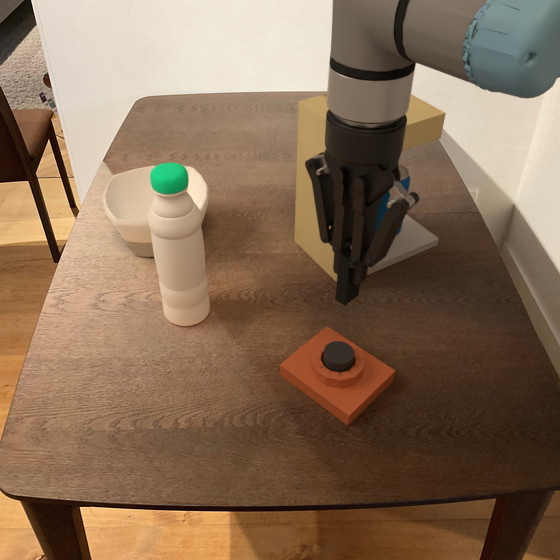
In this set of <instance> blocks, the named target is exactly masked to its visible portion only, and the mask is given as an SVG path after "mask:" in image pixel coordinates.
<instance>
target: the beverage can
mask: <svg viewBox="0 0 560 560" xmlns="http://www.w3.org/2000/svg"><path fill="white" fill-rule="evenodd" d="M398 165H399V170H400V173H401V179H400V181H399V182H400V183H401V184H402V186H403V187H404V188H405V190H406V191H407V192H408V193H409V189H410V185H411V176H410V171H409V168H407V167H406V166H404V165H403V164H401V163H398ZM389 198H390V193H389V192H387V193H386V194H385V195H384V196H383V197H382V202H381V203H380V205H379V207H378V215H377V222H376V230H375V234H376V232H377V229H378V227H379V225H380V222H381V220H382V218H383V216H384V214H385V213H386V211H387V210H388V209H389V208H387V203H388V200H389ZM402 223H403V222H402ZM401 228H402V224H401V226H400V228H399V230H398V232H397V234H396V235H398V234H399V233H400V232H401Z"/></svg>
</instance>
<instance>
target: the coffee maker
mask: <svg viewBox="0 0 560 560" xmlns="http://www.w3.org/2000/svg"><path fill="white" fill-rule="evenodd" d="M328 110H329V108H328V107H327V93H325V94H320V95H317V96H312V97H310V98H306V99H302V100H298V117H297V143H296V144H297V145H296V173H295V175H296V176H295V177H296V179H295V205H294V207H295V209H294V212H295V213H294V238H293V240H294V242H295V244H297V245H298V247H299V248H301V250H302V251H304V252H305V253H306V254H307V255H308V256H309V257H310V258H311V259H312V260H313V261H314V262H315V264H317V265H318V266H319V267H320V268H321V269H322V270H323V271H324V272H325V273H326V274H327V275H328V276H329V277H331V279H333V281H334V282H336V283H337V274H336V273H334V270H333V265H334V264H333V262H334V252H333V250H332V246H331V245H330V244H329V243H323V242H322V241H321V239H320V234H319V227H318V220H317V214H316V207H315V201H314V194H313V187H312V181H311V179H310V176H309V174H308V172H307V169H306V167H305V162H306V161H307V160H309V159H310V158H312V157H314V156H316V155H318V154H319V153H321V152H325V150H326V147H325V128H326V113H327V111H328ZM405 115H406V117H407V124H406V131H405V137H404V144H403V149H402V152H404V151H407V150H409V149H413V148H415V147H418V146H421V145H424V144H428V143H431V142H434V141H437V140H440V139H441V138H442V133H443V128H444V123H445V119H446V115H447V112H445V111H443V110H441V109H439V108H438V107H435V106H434V105H432V104H430V103H429V102H426V101H425V100H423V99H421V98H420V97H417V96H416V95H415V94H412V93H411V96H410V103H409V109H408V111H407V113H406V114H405ZM330 228H331V226H329V229H330ZM439 239H440V238H439V237H438V236H436V235H435V234H434V233H432V232H431V231H430V230H428V229H427V228H425V227H424V226H423V225H422V224H420V223H419V222H417V221H416V220H415V219H413V218H412V217H411V216H409V214H407V213H406V215H405V217H404V220H403V223H402V228H401V232H400V233H399V234H398V235H396V236H395V238H394V241H393V243H392V245H391V247H390V249H389V251H388V253H387V255H386V257H385V258H383V259H382V260H381V261H379V262H378V263H377V264H376V265H374V266H373V267H371V268H370V267H368V272H367V276H370V275H371V274H373V273H376V272H379V271H381V270H383V269H385V268H387V267H390V266H392V265H394V264H397V263H399V262H401V261H404V260H406V259H409V258H411V257H413V256H415V255H418V254H420V253H422V252H425V251H427V250H430V249H432V248H435V247H436V246H438V244H439ZM351 248H352V246H351Z"/></svg>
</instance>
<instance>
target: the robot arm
mask: <svg viewBox="0 0 560 560" xmlns="http://www.w3.org/2000/svg"><path fill="white" fill-rule="evenodd" d="M331 12H332V13H331V15H332V17H331V35H330V36H331V39H330V52H329V53H330V55H329V63H328V74H327V75H328V76H327V88H326V89H327V91H326V94H327V107H328V108H329V110H328V111H327V113H326V128H325V147H326V150H325V152H321V153H319V154H318V155H316V156H314V157H312V158H310V159H309V160H307V161H306V162H305V167H306V169H307V172H308V174H309V176H310V179H311V181H312V187H313V194H314V201H315V207H316V214H317V220H318V227H319V234H320V239H321V241H322V242H323V243H329V244H330V245H331V246H332V250H333V252H334V262H333V264H334V265H333V270H334V273H336V274H337V282H336V285H335V297H334V301H335V302H337V303H339V304H341V306H344V307H346V306H347V305H348V304H350V303H351V302H352V301H353V300H355V299H356V298H357V297H358V296H359V295H360V290H361V284H362V283H363V282H364V281H365V280H366V279H367V277H368V275H367V272H368V267H370V268H371V267H373V266H374V265H376V264H377V263H378V262H379V261H381V260H382V259H383V258H385V257H386V255H387V253H388V251H389V249H390V247H391V245H392V243H393V241H394V238H395V236H396V234H397V232H398V230H399V228H400V226H401V224H402V222H403V220H404V217H405V215H406V214H407V213H408V211H409V210H411V209H412V208H413V207H414V206H415V205H417V204H418V203H419V202H420V196H419V194H418V193H417V192H416V191H411V192H409V191H408V192H407V191H406V190H405V188H404V187H403V186H402V184H401V183H400V182H399V181H400V179H401V173H400V170H399V165H398V164H399V162H400V158H401V155H402V152H403V151H402V149H403V144H404V137H405V131H406V124H407V117H406V115H405V114H406V113H407V111H408V109H409V103H410V96H411V94H412V89H413V83H414V77H415V73H416V72H415V71H416V65H417V64H418V65H421V66H424V67H427V68H429V69H432V70H434V71H438V72H440V73H442V74H445V75H448V76H451V77H453V78H457V79H459V80H462V81H464V82H466V83H470V84H472V85H474V86H476V87H478V88H479V89H480V90H483V91H487V92H491V93H500V94H504V95H508V96H512V97H516V98H519V99H527V100H529V99H535V98H537V97H540V96H542V95H543V94H545V93H547V92H548V91H549V90H551V88H553V87H554V85H555V83H556V81H557V80H558V79H559V78H560V0H332V11H331ZM387 192H389V193H390V198H389V200H388V203H387V208H389V209H388V210H387V211H386V213H385V214H384V216H383V218H382V220H381V222H380V225H379V227H378V229H377V232H376V234H375V230H376V222H377V215H378V207H379V205H380V203H381V202H382V197H383V196H384V195H385V194H386V193H387ZM329 226H331V228H330V229H329ZM351 246H352V248H351Z"/></svg>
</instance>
